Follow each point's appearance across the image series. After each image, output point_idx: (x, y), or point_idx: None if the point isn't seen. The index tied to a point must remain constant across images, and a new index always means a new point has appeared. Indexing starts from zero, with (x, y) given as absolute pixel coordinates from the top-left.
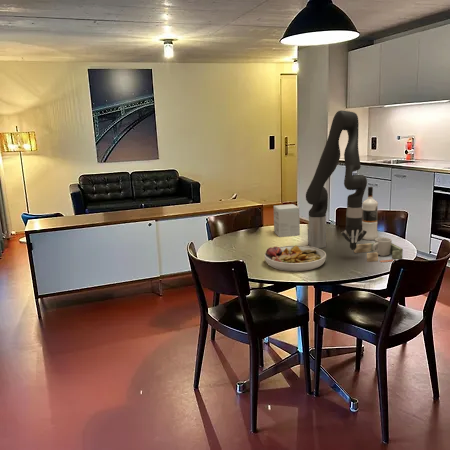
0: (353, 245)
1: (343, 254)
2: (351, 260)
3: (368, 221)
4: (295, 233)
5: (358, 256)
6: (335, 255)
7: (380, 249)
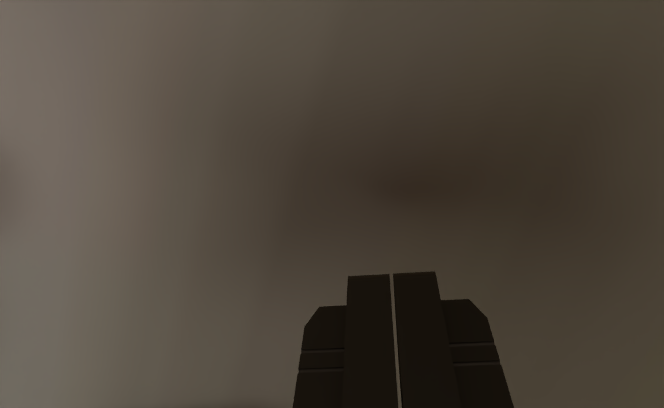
0: (415, 359)
1: None
2: (483, 16)
3: None
4: None
5: (254, 249)
6: (645, 364)
7: None
